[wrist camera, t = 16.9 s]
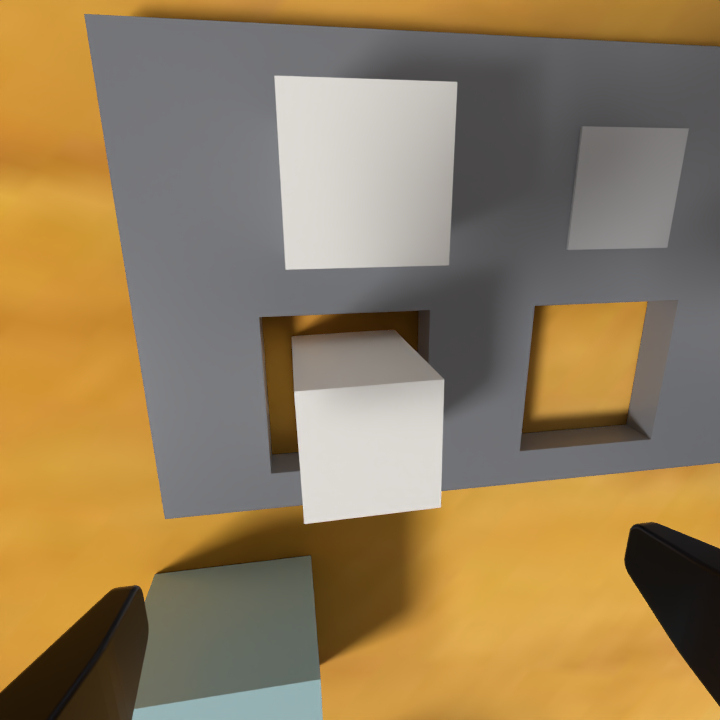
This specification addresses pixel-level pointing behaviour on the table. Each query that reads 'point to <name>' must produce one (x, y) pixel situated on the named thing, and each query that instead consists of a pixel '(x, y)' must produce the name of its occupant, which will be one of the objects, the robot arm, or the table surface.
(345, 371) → the white rectangular prism
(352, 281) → the pin board
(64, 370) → the table surface
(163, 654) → the housing
